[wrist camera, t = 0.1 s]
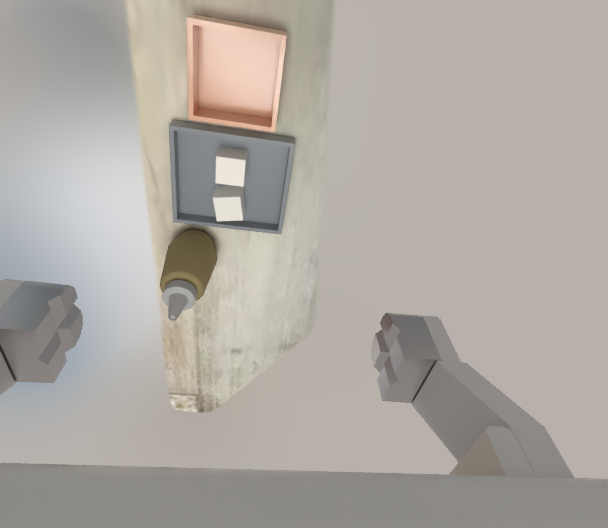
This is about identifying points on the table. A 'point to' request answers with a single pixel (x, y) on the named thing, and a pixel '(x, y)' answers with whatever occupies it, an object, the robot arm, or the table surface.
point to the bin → (234, 72)
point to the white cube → (231, 166)
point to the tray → (201, 184)
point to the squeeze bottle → (187, 270)
